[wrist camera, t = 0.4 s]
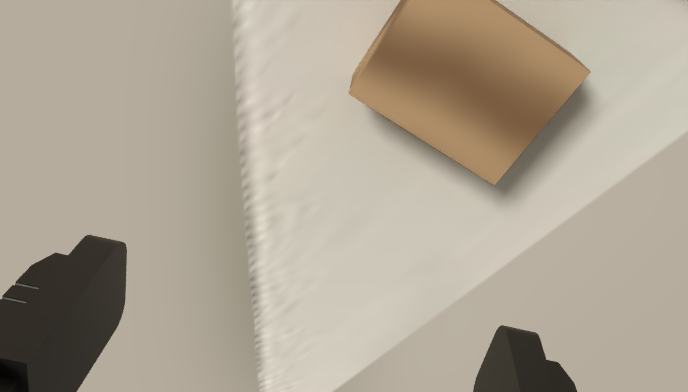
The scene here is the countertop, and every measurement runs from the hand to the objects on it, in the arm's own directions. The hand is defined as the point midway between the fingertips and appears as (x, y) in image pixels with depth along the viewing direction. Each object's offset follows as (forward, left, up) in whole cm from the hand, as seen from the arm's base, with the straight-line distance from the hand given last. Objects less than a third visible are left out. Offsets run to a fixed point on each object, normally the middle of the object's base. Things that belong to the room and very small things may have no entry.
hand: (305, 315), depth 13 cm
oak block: (-2, +6, -26) cm, 26 cm away
